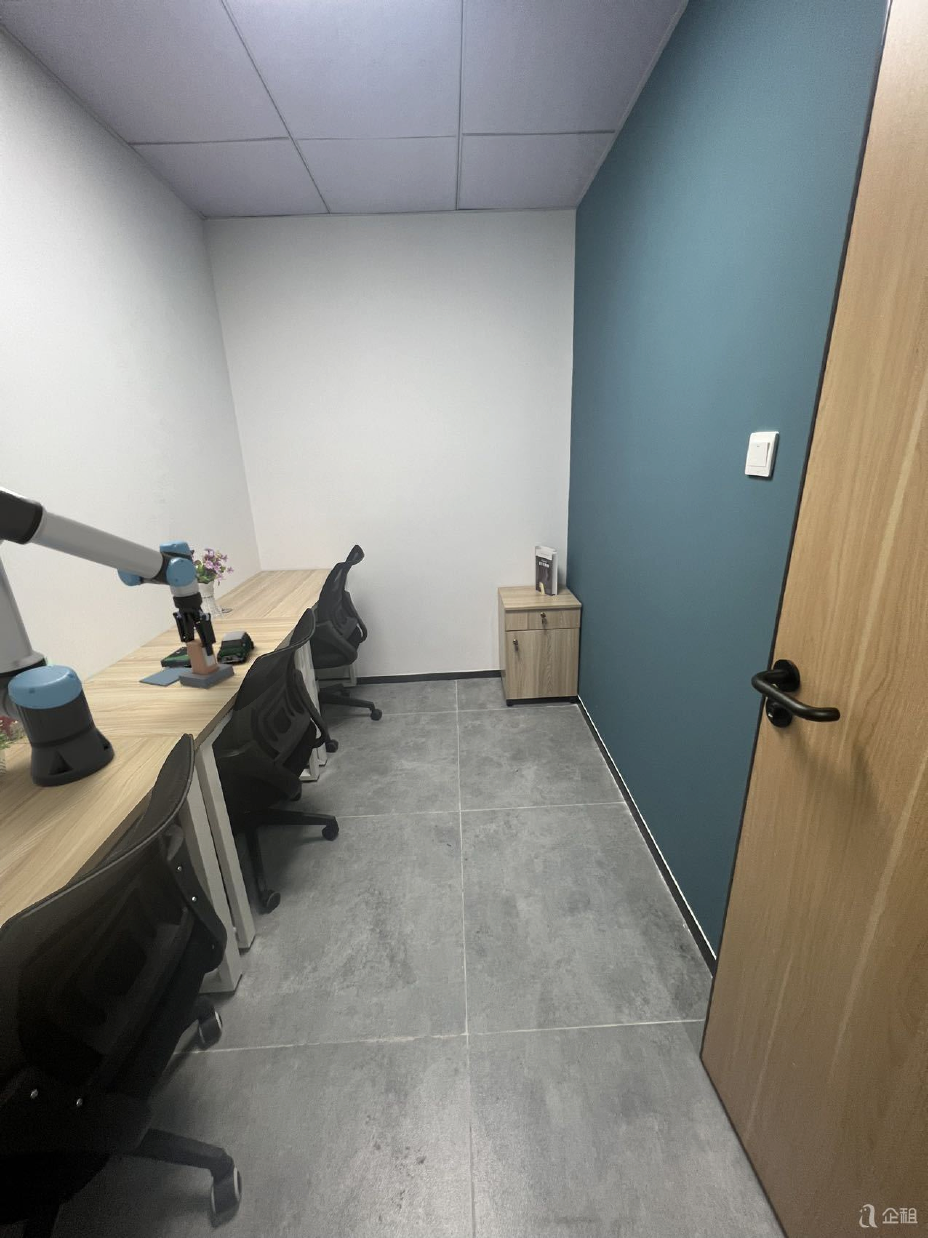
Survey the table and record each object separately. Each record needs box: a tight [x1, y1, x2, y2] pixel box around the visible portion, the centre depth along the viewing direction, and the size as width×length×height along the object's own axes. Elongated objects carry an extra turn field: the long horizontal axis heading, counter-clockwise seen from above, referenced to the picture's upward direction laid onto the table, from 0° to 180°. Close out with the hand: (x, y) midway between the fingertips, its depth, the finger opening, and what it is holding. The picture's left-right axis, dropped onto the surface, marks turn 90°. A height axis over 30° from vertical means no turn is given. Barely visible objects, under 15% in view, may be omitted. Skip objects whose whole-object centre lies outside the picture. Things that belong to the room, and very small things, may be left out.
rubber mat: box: [138, 666, 192, 688], centre depth 159 cm, size 12×12×1 cm
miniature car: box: [216, 630, 255, 664], centre depth 171 cm, size 9×18×8 cm, turn 11°
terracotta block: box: [185, 637, 218, 675], centre depth 153 cm, size 5×5×13 cm
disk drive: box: [160, 646, 191, 668], centre depth 171 cm, size 10×3×15 cm
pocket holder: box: [178, 663, 235, 689], centre depth 155 cm, size 11×11×3 cm
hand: (204, 663), depth 153 cm, fingers closed on terracotta block, 5 cm apart
